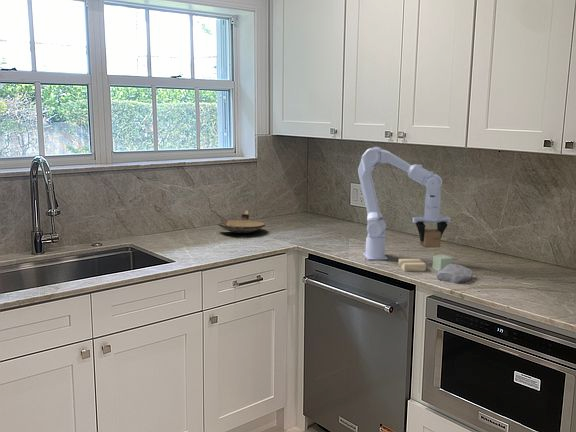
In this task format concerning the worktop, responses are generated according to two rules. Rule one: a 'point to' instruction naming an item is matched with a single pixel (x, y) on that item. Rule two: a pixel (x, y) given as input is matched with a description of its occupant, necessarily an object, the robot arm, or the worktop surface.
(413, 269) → the oak block
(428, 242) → the walnut cube
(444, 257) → the sage cube
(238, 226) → the oil lamp
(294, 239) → the worktop surface
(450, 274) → the stone block
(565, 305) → the worktop surface
